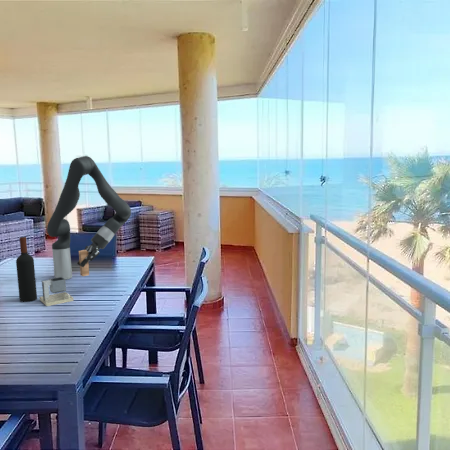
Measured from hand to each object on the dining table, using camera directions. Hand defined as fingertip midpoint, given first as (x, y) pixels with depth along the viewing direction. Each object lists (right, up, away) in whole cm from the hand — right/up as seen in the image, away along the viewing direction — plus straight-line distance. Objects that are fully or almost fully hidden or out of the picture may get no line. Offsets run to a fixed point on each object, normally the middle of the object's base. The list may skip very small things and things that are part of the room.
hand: (79, 265), depth 206 cm
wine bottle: (-23, -16, -3) cm, 29 cm away
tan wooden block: (+2, -5, +2) cm, 6 cm away
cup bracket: (-8, -16, -5) cm, 19 cm away
